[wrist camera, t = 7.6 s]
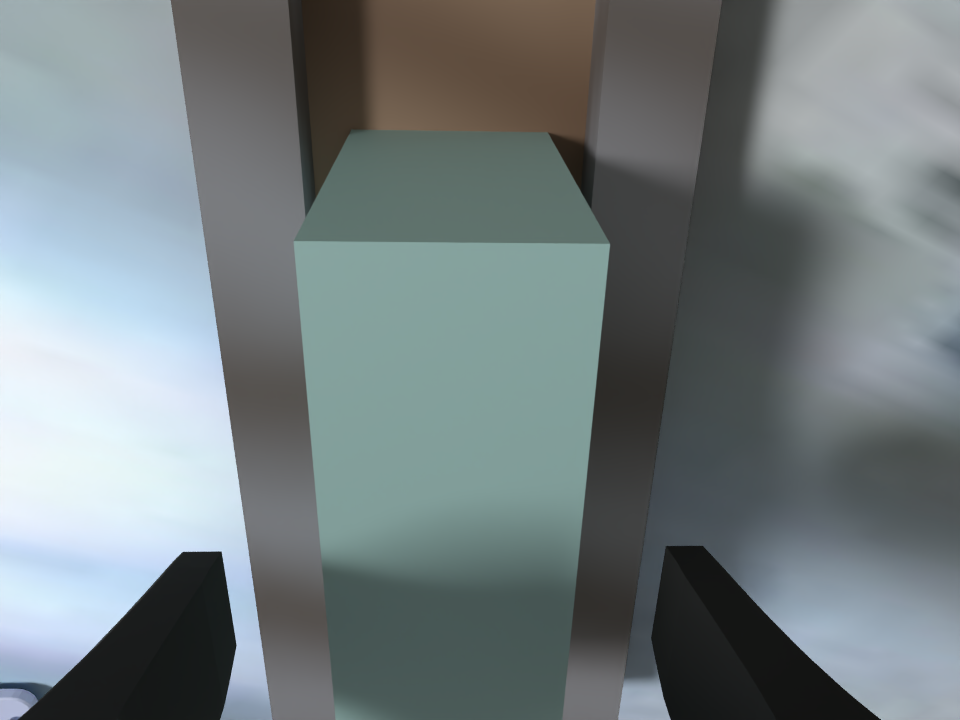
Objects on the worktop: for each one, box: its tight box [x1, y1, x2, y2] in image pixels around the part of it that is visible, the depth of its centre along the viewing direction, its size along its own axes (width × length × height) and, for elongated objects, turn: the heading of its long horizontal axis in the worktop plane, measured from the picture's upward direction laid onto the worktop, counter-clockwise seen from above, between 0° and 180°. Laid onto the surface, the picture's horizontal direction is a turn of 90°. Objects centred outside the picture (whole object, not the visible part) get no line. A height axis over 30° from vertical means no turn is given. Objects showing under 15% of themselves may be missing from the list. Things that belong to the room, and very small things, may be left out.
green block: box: [294, 129, 610, 720], centre depth 16 cm, size 12×4×7 cm, turn 179°
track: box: [171, 0, 722, 720], centre depth 19 cm, size 20×10×2 cm, turn 179°
